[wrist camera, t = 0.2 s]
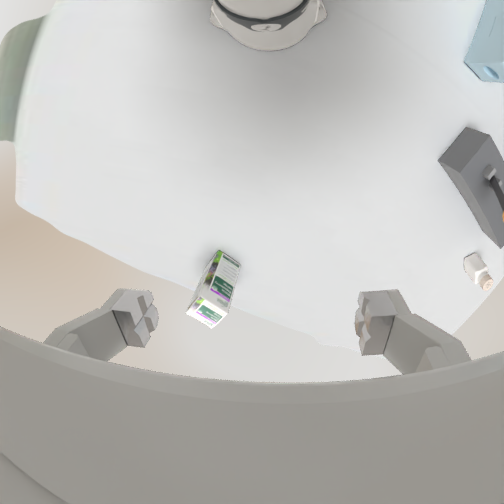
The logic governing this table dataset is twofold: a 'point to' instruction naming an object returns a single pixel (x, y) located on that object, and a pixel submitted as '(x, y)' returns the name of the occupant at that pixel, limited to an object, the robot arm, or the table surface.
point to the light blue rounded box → (489, 44)
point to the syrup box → (214, 290)
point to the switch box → (478, 178)
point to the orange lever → (498, 193)
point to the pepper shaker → (478, 271)
